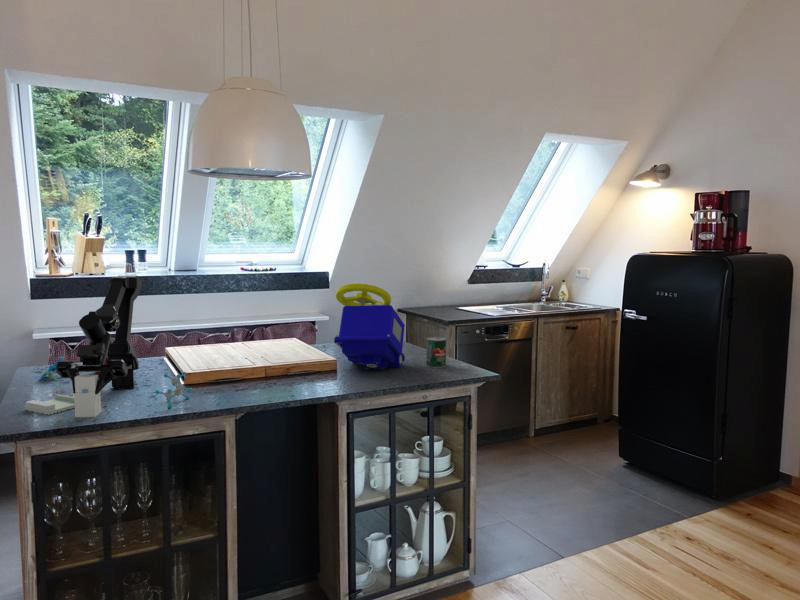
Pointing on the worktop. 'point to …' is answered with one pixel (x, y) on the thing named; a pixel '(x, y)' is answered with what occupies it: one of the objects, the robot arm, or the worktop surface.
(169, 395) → the molecular model
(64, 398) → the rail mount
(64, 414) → the worktop surface
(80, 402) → the block
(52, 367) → the blue green branched piece
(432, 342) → the canned tomato
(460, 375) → the worktop surface
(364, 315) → the control box
